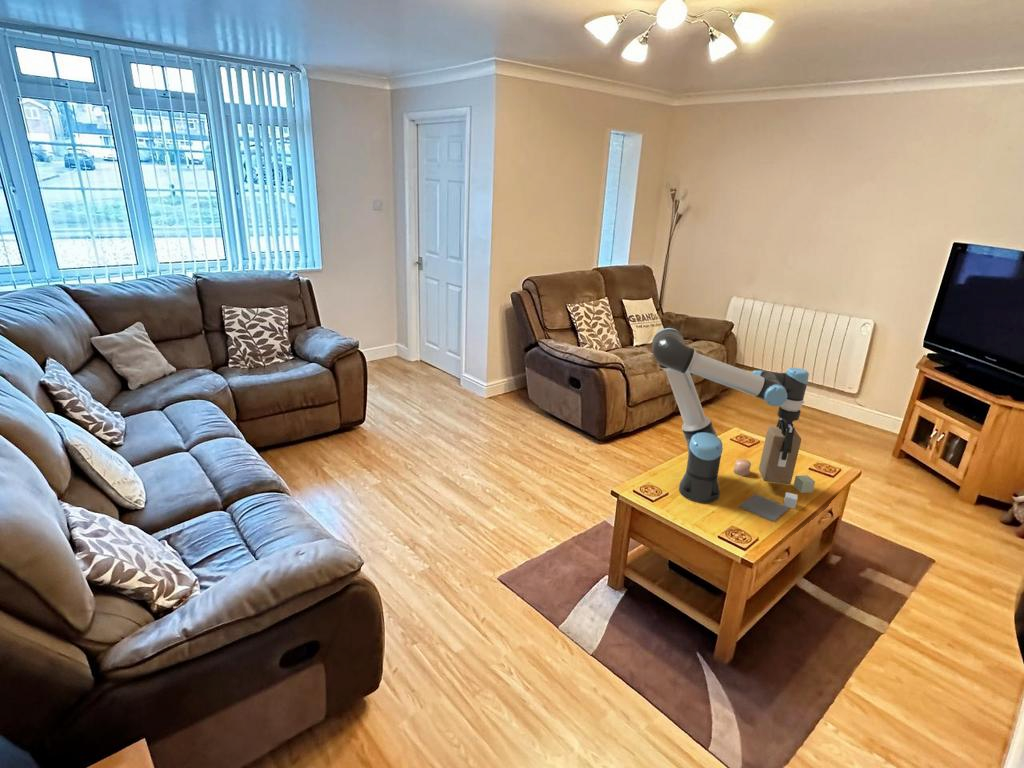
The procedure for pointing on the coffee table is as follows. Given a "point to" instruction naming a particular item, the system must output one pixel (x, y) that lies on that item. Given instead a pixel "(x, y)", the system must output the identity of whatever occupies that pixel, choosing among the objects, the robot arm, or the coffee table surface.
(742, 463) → the pale pink rounded piece
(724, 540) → the coffee table surface
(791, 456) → the wooden block
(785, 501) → the pale blue cube
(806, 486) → the sage cube
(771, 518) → the slate mat
